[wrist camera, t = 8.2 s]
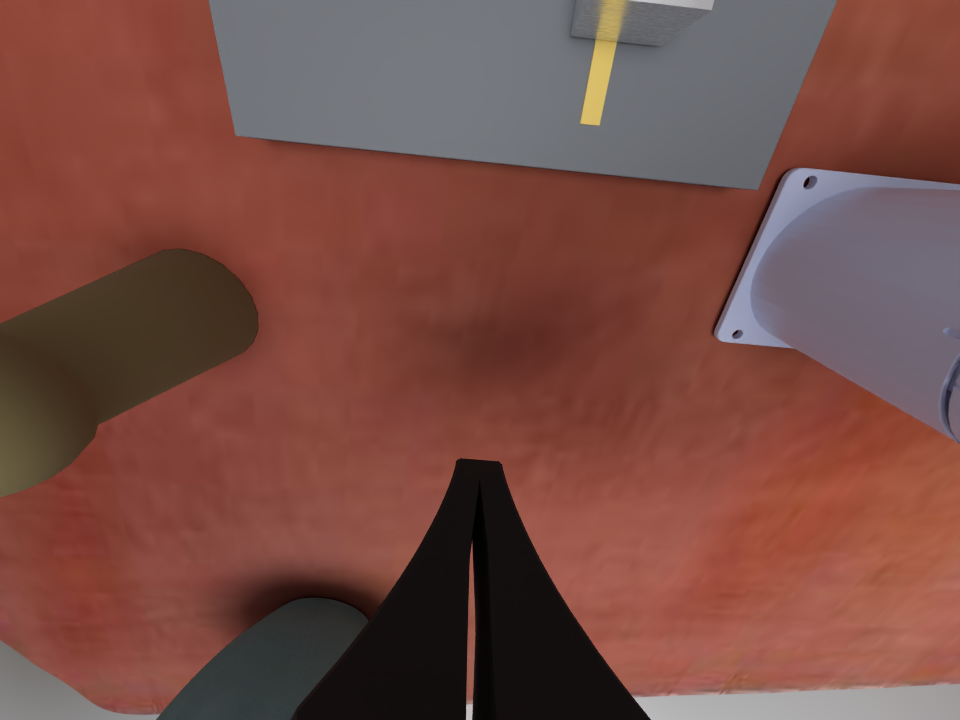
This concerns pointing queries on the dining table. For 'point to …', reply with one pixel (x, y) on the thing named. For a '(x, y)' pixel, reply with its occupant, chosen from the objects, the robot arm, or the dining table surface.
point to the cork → (111, 355)
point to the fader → (636, 19)
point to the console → (521, 83)
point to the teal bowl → (270, 664)
